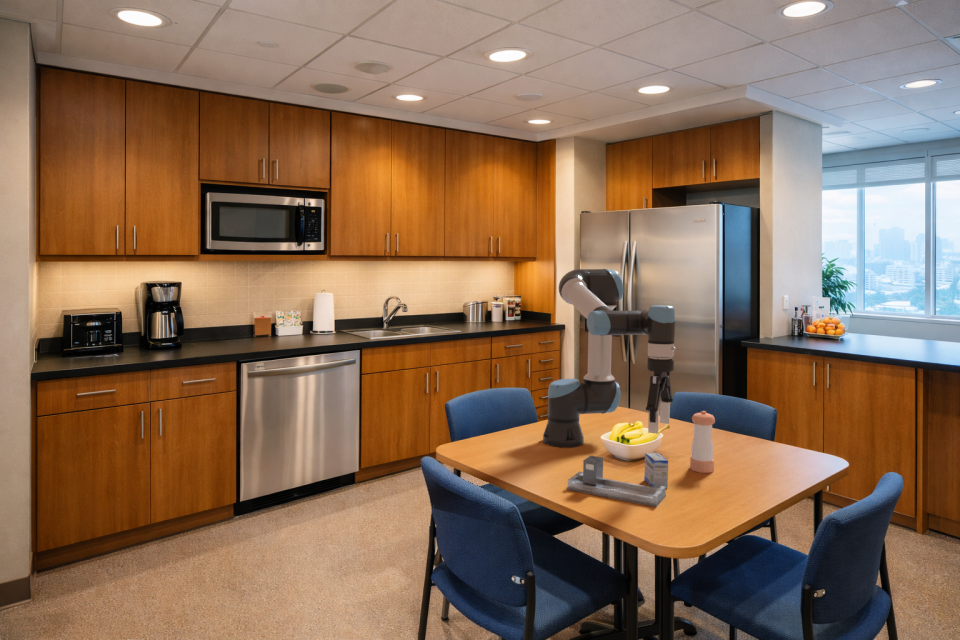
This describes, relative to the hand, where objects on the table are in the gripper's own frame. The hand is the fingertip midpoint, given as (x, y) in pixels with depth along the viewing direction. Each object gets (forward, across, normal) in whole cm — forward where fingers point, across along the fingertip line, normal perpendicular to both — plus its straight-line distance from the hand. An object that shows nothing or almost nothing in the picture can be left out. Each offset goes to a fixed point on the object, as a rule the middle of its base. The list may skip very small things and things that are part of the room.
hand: (659, 427), depth 183 cm
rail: (+17, -14, +9) cm, 24 cm away
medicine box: (+17, -1, 0) cm, 17 cm away
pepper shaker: (+17, +21, -9) cm, 29 cm away
